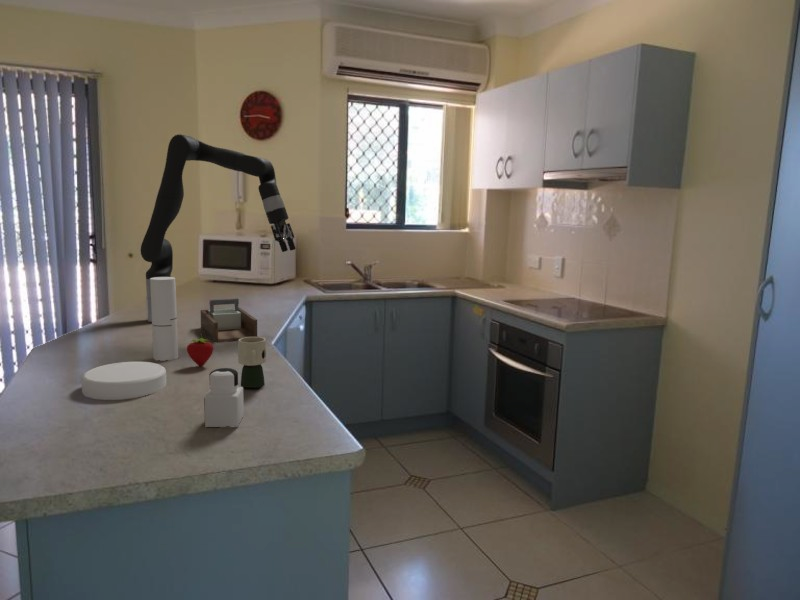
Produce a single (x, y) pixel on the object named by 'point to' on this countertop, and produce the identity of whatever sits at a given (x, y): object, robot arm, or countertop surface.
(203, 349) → the strawberry
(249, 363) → the character mug
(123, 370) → the container
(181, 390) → the countertop surface
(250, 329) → the bay
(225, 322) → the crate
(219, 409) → the medicine bottle
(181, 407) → the countertop surface
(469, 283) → the countertop surface
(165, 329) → the cylindrical container
